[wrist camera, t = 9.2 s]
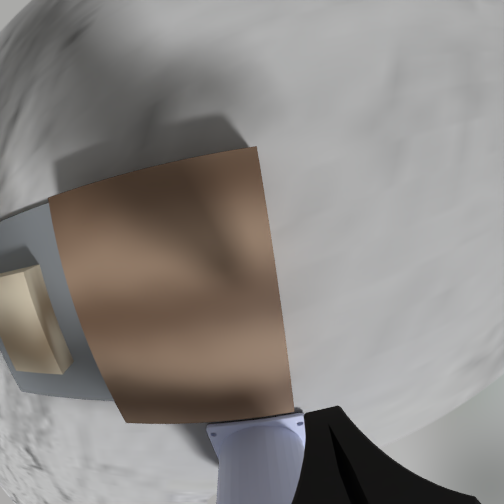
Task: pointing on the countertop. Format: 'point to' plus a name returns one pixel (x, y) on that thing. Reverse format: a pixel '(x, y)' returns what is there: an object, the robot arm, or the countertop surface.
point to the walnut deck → (179, 289)
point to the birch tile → (31, 324)
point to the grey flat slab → (47, 255)
